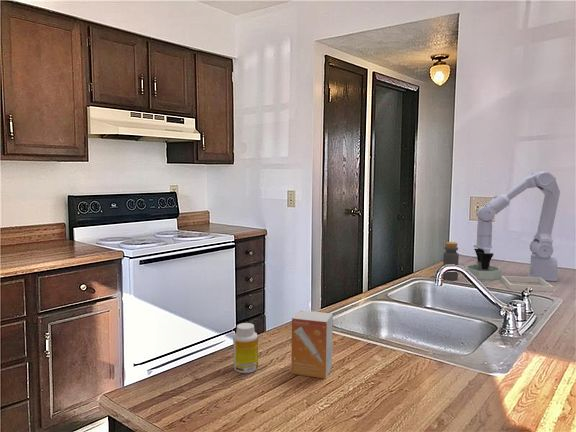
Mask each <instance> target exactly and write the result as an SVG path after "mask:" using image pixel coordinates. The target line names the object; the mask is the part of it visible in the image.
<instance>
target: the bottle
mask: <svg viewBox="0 0 576 432" xmlns="http://www.w3.org/2000/svg"><path fill="white" fill-rule="evenodd" d="M458 244H459V243H458V242H456V241H455V242H453V241H447V242H445V246H444V250H445V252H443V257H442V258H443V260H442V261H443V263H442V264H443V265H445V264H455V265H458V266H459V252H457V251H458V250H459V248H458ZM458 277H459V272H458V273H457V272H447V273H445V274H444V275H443V274H442V279H443V280H446V281H453V282H454V281H457V280H459V279H458Z"/></svg>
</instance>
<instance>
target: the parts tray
mask: <svg viewBox="0 0 576 432" xmlns="http://www.w3.org/2000/svg"><path fill="white" fill-rule="evenodd" d="M500 281H501V282H502V283H503V284H504V285H505V287H506V288H508V289H509V290H510V291H523V290H524V289H526V288H528V287H530V288H532V289H533V291H532V292H548V293H553V292H554V286H553V285H552V284H551V283H549V281H548V282H547V281H545V280H543V279H542V278H541V277H528V276H517V275H516V276H515V275H514V276H513V275H501V278H500ZM511 282H520V283H537V285H533V284H516V283H515V284H513V283H511ZM538 284H539V285H538Z"/></svg>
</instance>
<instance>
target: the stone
mask: <svg viewBox="0 0 576 432" xmlns="http://www.w3.org/2000/svg"><path fill="white" fill-rule="evenodd" d="M475 262H476V263H475V264H476V270H478V271H490V266H491V264H490V263H489V267H488V270H485V269H482V266H481V262H480V261H478V260H477V261H475Z"/></svg>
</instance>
